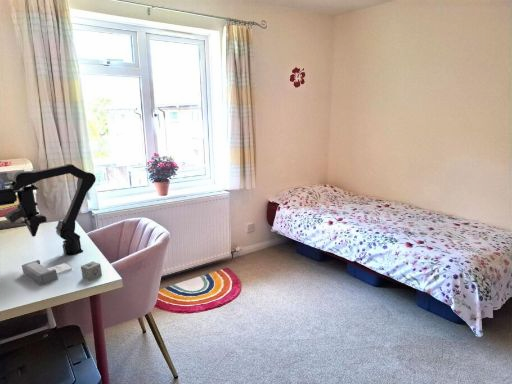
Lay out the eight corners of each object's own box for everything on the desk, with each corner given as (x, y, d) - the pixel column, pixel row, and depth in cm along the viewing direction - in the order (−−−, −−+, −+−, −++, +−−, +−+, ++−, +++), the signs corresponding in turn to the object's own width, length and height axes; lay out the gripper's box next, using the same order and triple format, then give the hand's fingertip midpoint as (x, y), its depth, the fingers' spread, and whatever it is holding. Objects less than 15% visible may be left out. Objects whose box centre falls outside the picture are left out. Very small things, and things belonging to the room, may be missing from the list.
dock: (40, 268, 144) (38, 259, 143) (57, 279, 133) (56, 270, 132) (23, 274, 139) (21, 265, 138) (40, 286, 129) (38, 276, 128)
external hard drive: (31, 277, 137) (64, 266, 147) (39, 283, 132) (72, 270, 142) (30, 273, 137) (63, 262, 146) (38, 279, 132) (72, 267, 141)
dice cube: (82, 278, 134) (80, 266, 133) (94, 272, 138) (92, 261, 137) (90, 280, 131) (88, 268, 130) (102, 275, 135) (100, 263, 134)
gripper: (-3, 202, 144) (4, 237, 148) (12, 208, 133) (20, 246, 136) (27, 197, 153) (33, 230, 156) (43, 202, 141) (50, 238, 145)
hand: (33, 236), depth 148 cm, fingers closed
